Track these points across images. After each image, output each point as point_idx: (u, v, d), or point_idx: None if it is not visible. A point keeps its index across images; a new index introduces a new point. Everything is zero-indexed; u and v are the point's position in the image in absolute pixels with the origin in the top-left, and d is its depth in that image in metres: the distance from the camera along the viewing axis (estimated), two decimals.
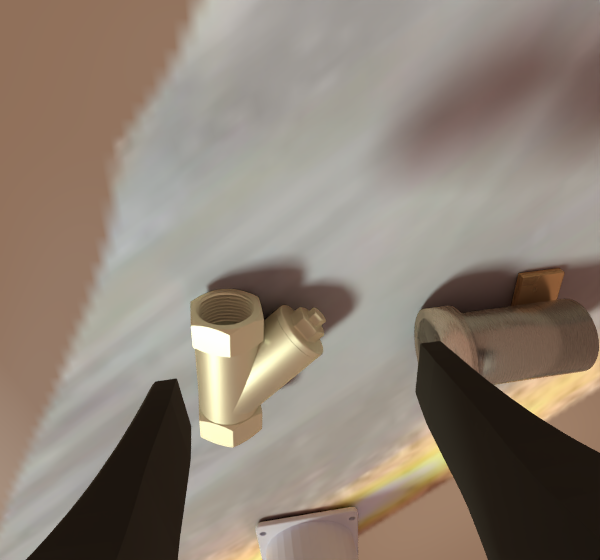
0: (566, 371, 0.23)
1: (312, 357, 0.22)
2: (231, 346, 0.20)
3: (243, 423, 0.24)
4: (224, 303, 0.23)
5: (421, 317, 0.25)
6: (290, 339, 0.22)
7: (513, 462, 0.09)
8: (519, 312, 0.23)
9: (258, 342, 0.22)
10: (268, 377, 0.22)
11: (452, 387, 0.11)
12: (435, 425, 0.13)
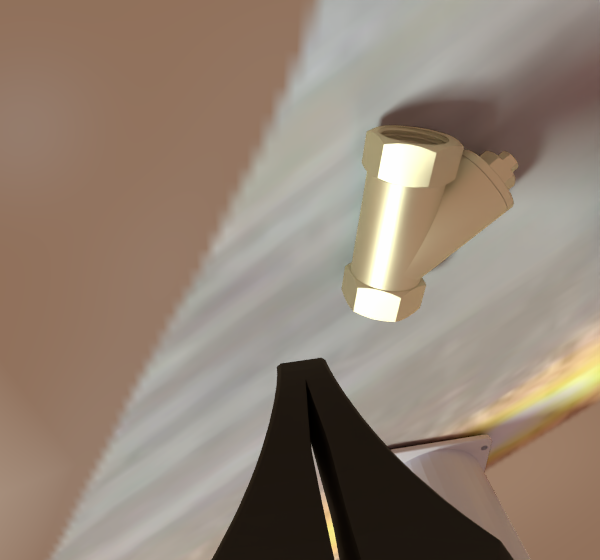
0: None
1: (506, 205, 0.19)
2: (432, 171, 0.17)
3: (410, 292, 0.20)
4: None
5: None
6: (488, 178, 0.18)
7: (339, 491, 0.09)
8: None
9: (451, 179, 0.18)
10: (455, 227, 0.19)
11: (314, 408, 0.11)
12: (313, 444, 0.12)
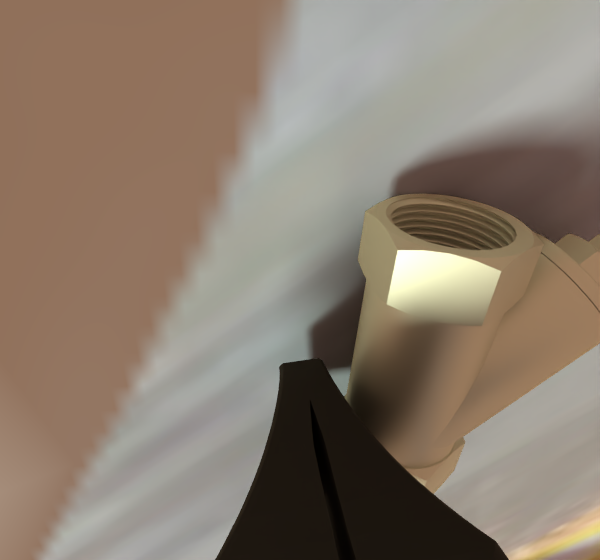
0: None
1: None
2: (490, 300, 0.09)
3: (441, 464, 0.12)
4: (415, 224, 0.12)
5: None
6: (584, 293, 0.10)
7: (336, 492, 0.09)
8: None
9: (518, 297, 0.10)
10: (522, 373, 0.11)
11: (311, 408, 0.11)
12: None
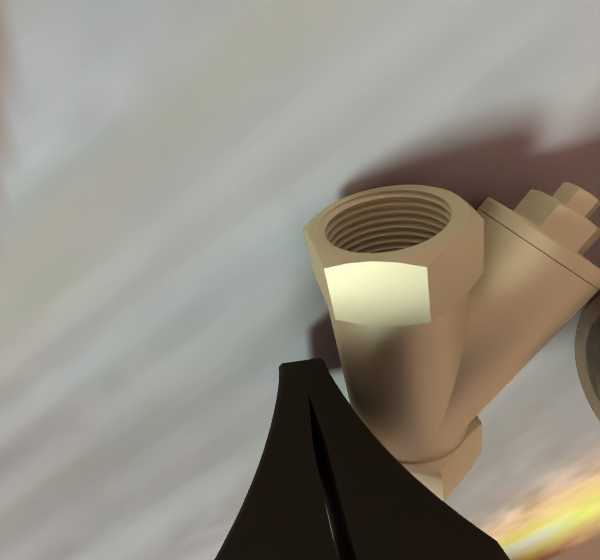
0: None
1: None
2: (430, 295, 0.08)
3: (456, 452, 0.12)
4: (366, 222, 0.11)
5: None
6: None
7: (337, 491, 0.09)
8: None
9: (475, 278, 0.09)
10: (506, 350, 0.10)
11: (312, 408, 0.11)
12: None
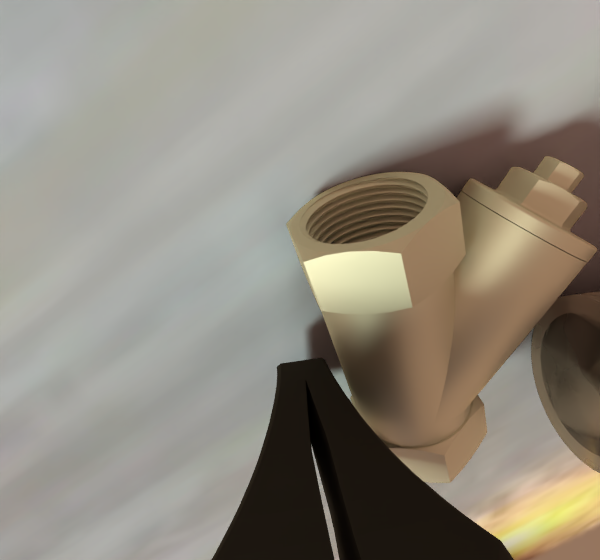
0: None
1: (583, 260, 0.10)
2: (409, 280, 0.09)
3: (458, 434, 0.12)
4: (350, 213, 0.11)
5: (558, 311, 0.13)
6: (529, 231, 0.09)
7: (339, 491, 0.09)
8: None
9: (458, 260, 0.09)
10: (496, 330, 0.10)
11: (314, 407, 0.11)
12: (313, 444, 0.12)
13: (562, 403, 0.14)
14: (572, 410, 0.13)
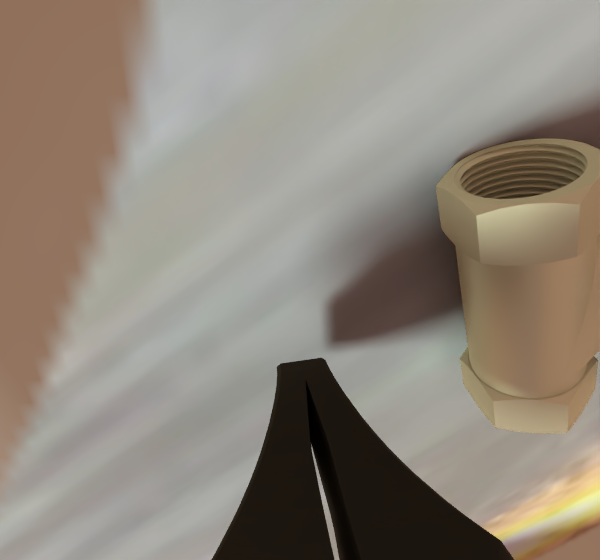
0: None
1: None
2: (578, 231, 0.09)
3: (579, 386, 0.13)
4: (485, 179, 0.12)
5: None
6: None
7: (340, 491, 0.09)
8: None
9: None
10: None
11: (314, 407, 0.11)
12: (314, 444, 0.12)
13: None
14: None
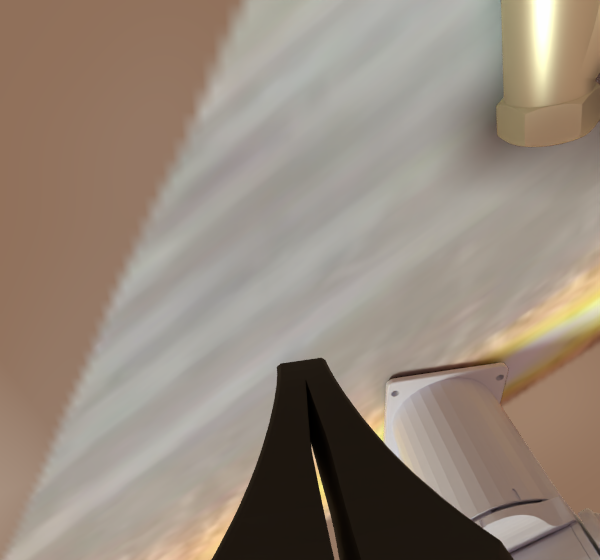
0: None
1: None
2: None
3: (589, 96, 0.17)
4: None
5: None
6: None
7: (340, 491, 0.09)
8: None
9: None
10: None
11: (314, 407, 0.11)
12: (314, 444, 0.12)
13: None
14: None
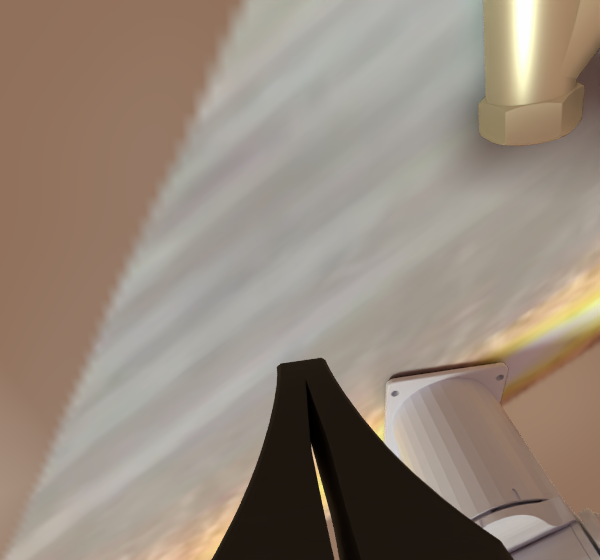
0: None
1: None
2: None
3: (570, 95, 0.17)
4: None
5: None
6: None
7: (340, 491, 0.09)
8: None
9: None
10: None
11: (314, 407, 0.11)
12: (314, 444, 0.12)
13: None
14: None
